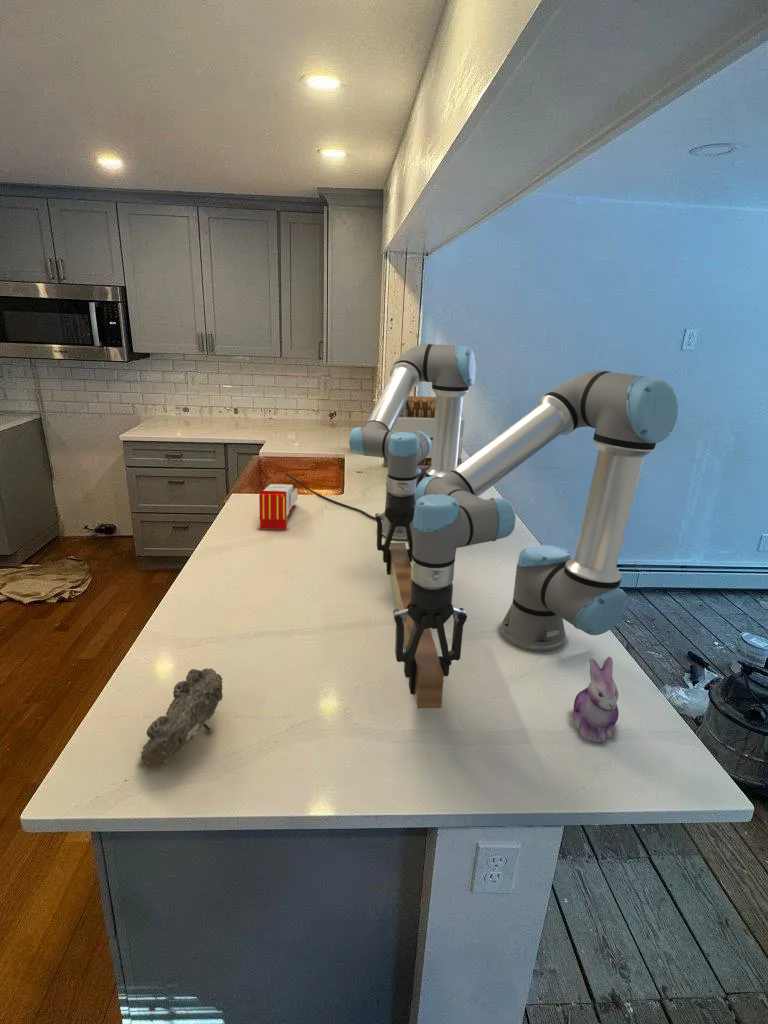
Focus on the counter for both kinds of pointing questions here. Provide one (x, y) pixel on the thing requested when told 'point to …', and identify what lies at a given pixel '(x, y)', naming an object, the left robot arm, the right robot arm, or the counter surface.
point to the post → (426, 653)
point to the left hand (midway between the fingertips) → (397, 572)
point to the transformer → (421, 423)
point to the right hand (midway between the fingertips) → (425, 689)
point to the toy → (276, 505)
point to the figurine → (597, 703)
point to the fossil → (183, 716)
